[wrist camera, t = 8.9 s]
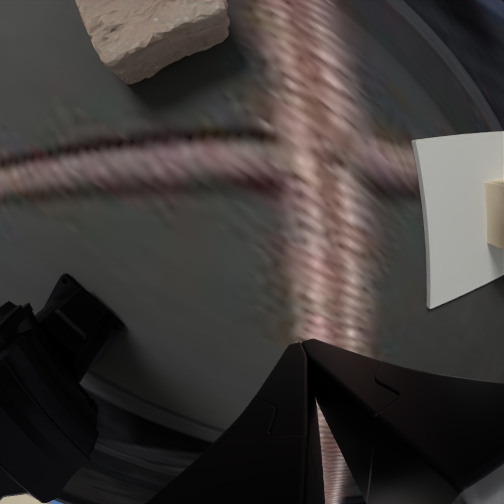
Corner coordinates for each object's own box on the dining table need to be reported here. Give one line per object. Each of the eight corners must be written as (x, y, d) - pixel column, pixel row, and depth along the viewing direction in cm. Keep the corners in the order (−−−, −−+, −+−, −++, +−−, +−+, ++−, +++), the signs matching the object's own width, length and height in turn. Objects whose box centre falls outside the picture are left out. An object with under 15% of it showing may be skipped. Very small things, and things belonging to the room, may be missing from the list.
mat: (426, 306, 23) (430, 309, 22) (411, 140, 19) (415, 140, 18) (542, 249, 22) (545, 250, 22) (537, 130, 18) (540, 130, 18)
